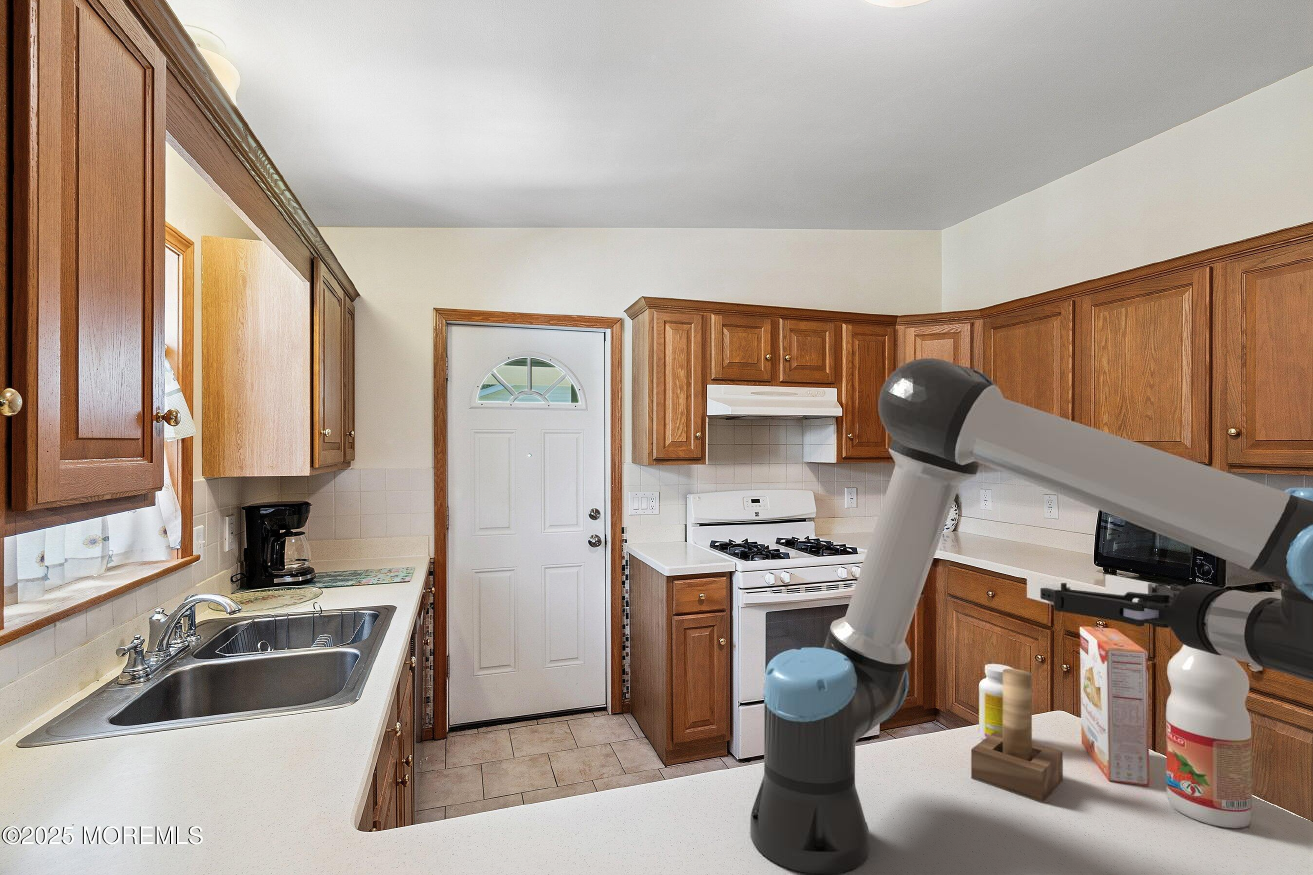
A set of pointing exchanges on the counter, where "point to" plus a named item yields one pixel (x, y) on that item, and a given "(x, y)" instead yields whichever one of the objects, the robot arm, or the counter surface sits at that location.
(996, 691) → the supplement bottle
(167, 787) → the counter surface
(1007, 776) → the socket block
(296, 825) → the counter surface
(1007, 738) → the dowel
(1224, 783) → the fruit juice
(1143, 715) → the cracker box
